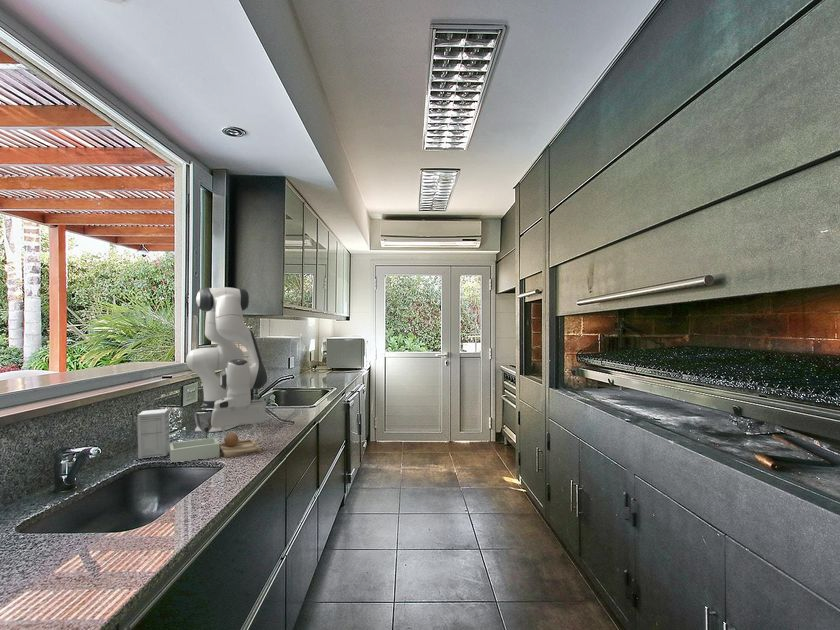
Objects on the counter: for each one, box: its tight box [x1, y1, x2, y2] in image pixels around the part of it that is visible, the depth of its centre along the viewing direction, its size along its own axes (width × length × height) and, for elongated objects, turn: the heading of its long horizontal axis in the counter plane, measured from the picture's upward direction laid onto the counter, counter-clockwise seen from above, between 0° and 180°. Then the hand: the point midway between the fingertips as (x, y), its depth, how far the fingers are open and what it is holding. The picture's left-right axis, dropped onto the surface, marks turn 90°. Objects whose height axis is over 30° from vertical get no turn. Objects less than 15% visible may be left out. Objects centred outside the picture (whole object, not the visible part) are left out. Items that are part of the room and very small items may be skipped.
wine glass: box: [194, 409, 213, 439], centre depth 185 cm, size 8×8×15 cm
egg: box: [223, 432, 239, 446], centre depth 185 cm, size 5×5×8 cm
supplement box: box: [136, 408, 171, 458], centre depth 176 cm, size 10×9×17 cm
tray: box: [219, 438, 262, 459], centre depth 181 cm, size 18×13×2 cm
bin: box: [169, 436, 221, 464], centre depth 173 cm, size 12×16×5 cm
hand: (239, 436), depth 182 cm, fingers open, 8 cm apart
